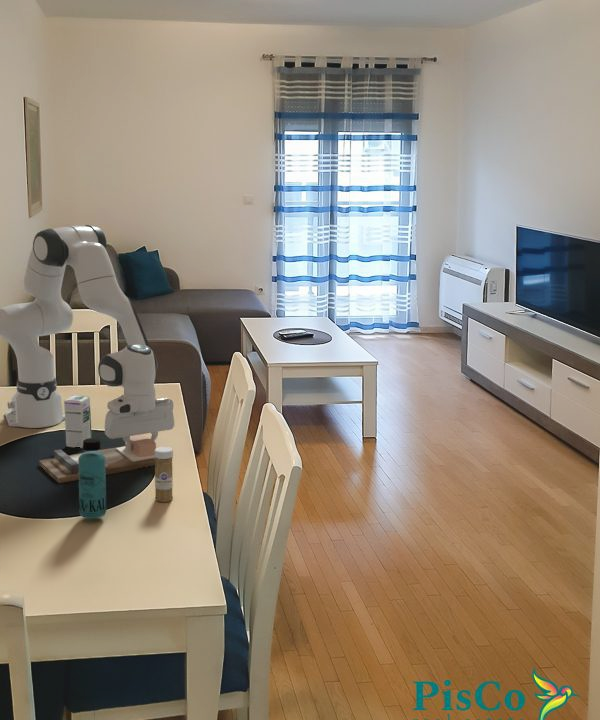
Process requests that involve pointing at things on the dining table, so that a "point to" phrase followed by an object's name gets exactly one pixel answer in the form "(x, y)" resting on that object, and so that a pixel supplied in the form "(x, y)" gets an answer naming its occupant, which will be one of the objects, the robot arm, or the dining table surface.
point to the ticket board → (109, 459)
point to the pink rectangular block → (139, 448)
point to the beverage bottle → (92, 480)
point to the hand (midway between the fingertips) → (140, 448)
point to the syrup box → (77, 420)
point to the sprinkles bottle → (163, 474)
